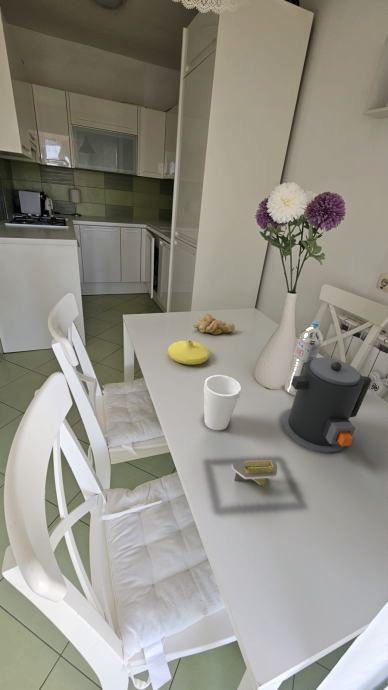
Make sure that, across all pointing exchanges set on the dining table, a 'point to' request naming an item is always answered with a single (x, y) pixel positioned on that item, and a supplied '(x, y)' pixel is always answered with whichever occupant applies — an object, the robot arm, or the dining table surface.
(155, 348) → the dining table surface
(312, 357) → the water bottle
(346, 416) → the kettle
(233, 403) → the foam cup
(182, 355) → the yellow knobbed round disc
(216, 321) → the ginger root
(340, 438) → the kettle switch
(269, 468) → the platform
